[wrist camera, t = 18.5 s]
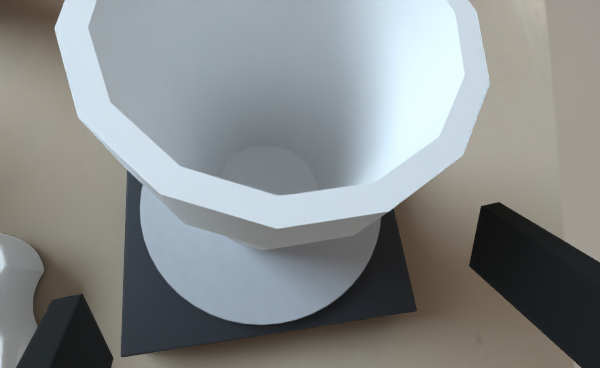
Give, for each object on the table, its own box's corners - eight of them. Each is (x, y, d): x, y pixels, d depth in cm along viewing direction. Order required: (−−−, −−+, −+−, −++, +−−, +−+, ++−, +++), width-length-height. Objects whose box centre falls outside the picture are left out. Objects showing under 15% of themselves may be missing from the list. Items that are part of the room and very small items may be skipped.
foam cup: (286, 101, 22) (329, -149, 10) (376, 214, 20) (563, 78, 8) (151, 175, 19) (-23, -49, 7) (241, 315, 17) (215, 342, 5)
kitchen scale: (348, 81, 28) (362, 48, 24) (396, 310, 22) (424, 311, 19) (144, 87, 25) (126, 51, 22) (139, 350, 19) (113, 360, 16)
